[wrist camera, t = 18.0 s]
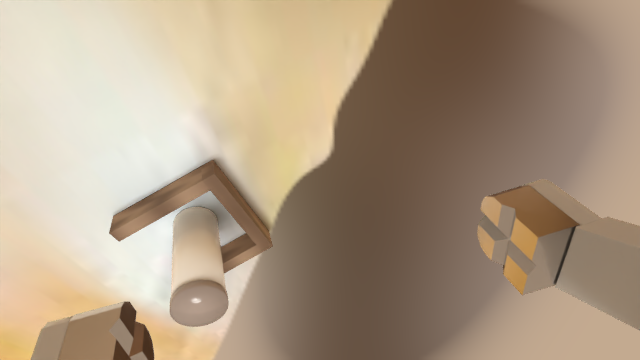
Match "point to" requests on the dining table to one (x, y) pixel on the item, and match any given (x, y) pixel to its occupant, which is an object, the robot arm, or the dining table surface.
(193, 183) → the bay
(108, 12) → the dining table surface
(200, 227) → the canister
